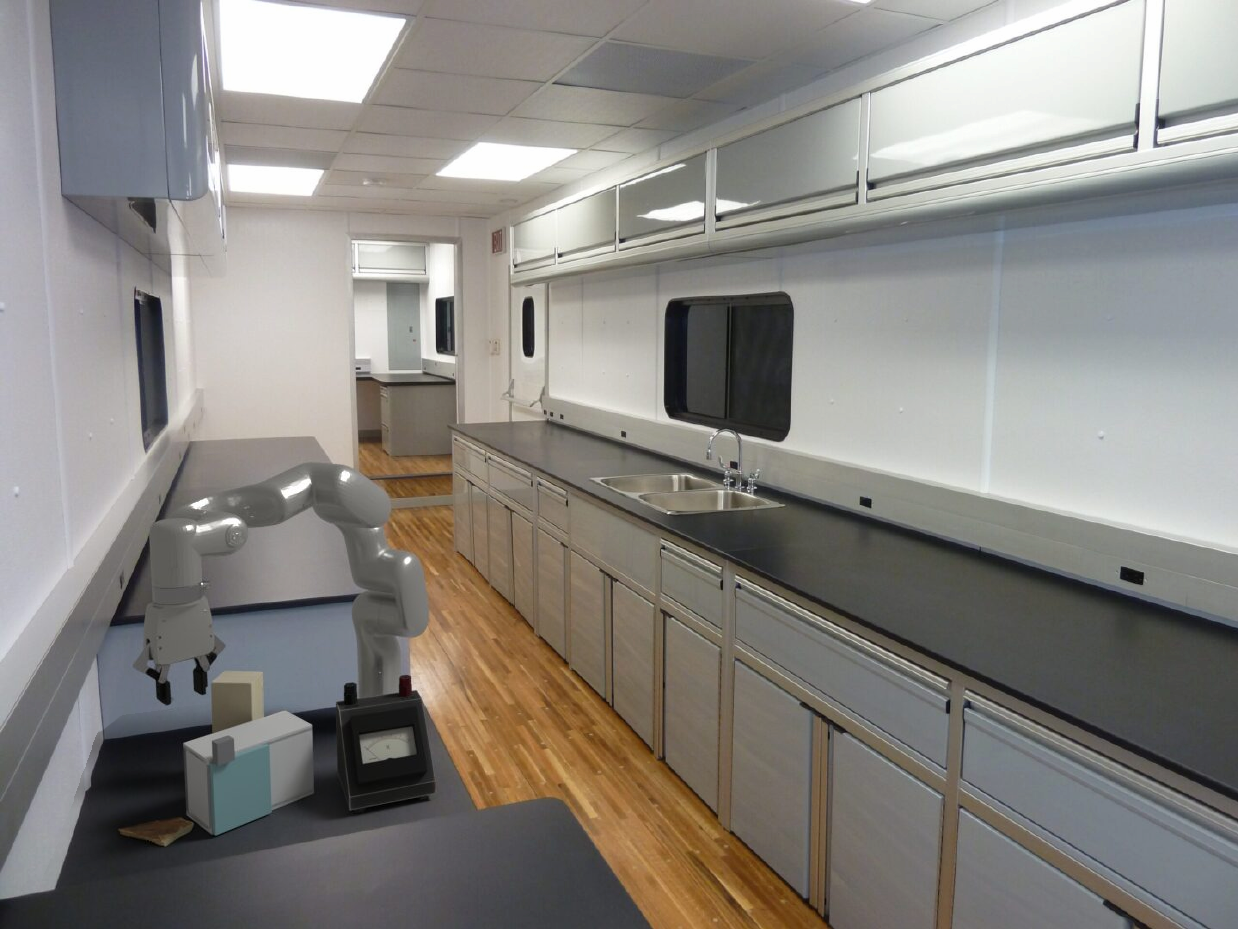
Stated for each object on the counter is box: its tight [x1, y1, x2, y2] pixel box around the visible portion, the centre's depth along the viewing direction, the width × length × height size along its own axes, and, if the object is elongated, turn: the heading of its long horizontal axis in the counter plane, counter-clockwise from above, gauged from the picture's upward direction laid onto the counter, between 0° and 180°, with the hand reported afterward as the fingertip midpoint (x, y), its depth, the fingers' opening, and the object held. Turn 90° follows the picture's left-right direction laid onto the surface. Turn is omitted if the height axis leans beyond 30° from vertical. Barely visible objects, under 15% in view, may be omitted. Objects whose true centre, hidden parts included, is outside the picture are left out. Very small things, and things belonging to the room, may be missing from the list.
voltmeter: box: [335, 674, 437, 813], centre depth 174 cm, size 16×16×20 cm
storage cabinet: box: [182, 710, 315, 835], centre depth 167 cm, size 20×10×14 cm, turn 140°
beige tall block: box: [210, 670, 265, 734], centre depth 178 cm, size 8×7×21 cm
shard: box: [117, 816, 194, 847], centre depth 159 cm, size 11×8×2 cm
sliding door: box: [210, 735, 273, 836], centre depth 160 cm, size 10×2×17 cm, turn 140°
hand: (182, 696), depth 150 cm, fingers open, 5 cm apart
